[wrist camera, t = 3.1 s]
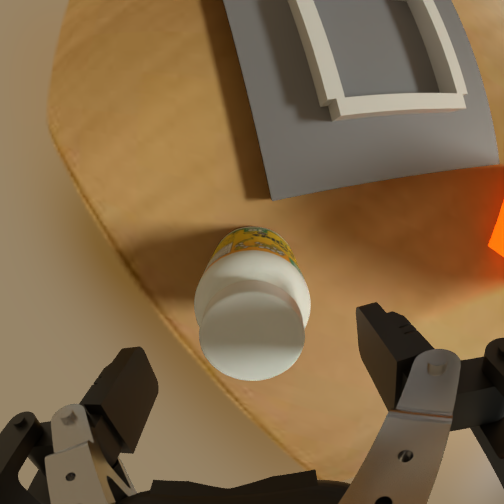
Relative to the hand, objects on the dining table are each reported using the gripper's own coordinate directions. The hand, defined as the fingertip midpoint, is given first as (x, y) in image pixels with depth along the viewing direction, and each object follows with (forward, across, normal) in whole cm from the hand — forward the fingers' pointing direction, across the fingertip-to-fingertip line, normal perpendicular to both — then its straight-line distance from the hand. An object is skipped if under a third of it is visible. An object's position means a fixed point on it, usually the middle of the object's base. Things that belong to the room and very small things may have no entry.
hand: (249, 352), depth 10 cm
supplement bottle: (+10, 0, 0) cm, 10 cm away
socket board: (+10, -11, -13) cm, 20 cm away
